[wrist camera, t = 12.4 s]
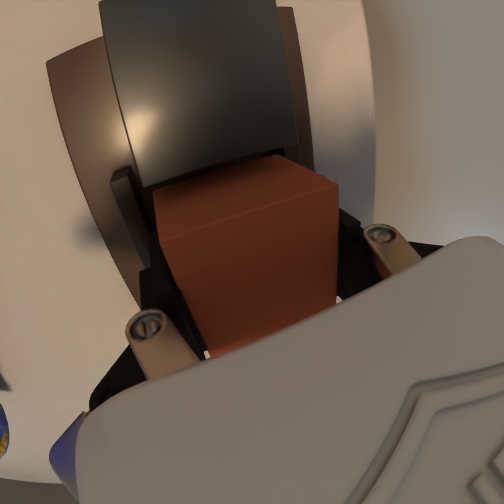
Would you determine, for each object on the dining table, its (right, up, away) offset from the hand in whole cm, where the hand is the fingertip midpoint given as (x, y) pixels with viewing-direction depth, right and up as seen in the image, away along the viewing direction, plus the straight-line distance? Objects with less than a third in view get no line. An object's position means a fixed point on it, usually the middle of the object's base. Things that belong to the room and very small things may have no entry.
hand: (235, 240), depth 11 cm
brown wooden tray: (-2, +4, +2) cm, 4 cm away
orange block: (0, 0, 0) cm, 0 cm away
